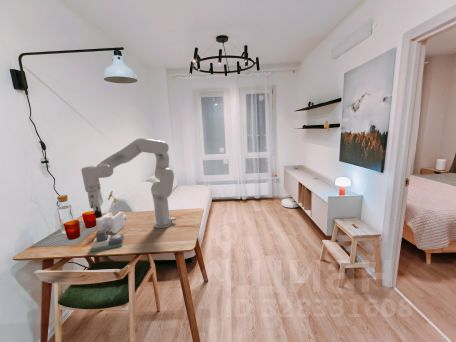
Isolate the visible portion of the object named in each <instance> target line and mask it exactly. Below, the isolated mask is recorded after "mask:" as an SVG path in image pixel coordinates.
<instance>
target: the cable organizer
mask: <svg viewBox="0 0 456 342" xmlns="http://www.w3.org/2000/svg"><path fill="white" fill-rule="evenodd" d="M123 214H124V212H123V211H119V213H118V214H116V215H115V216H113V213H112V212H107V213H105V214H104V215H102V217H101V218H98V219H97V221H96V222H97V229H98V231H99V230H104V229H106V233H107V232H108V233H109V230H110V231H111V232H112V234H117V233H119V231H120V230H122V229H123V228H124V227H125V225H126V223H125V222H126V221H125V219H124V215H123Z"/></svg>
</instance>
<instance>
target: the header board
mask: <svg viewBox="0 0 456 342" xmlns="http://www.w3.org/2000/svg"><path fill="white" fill-rule="evenodd" d="M107 238H108V239H107V241H101V242H97V239H96V237H95V238H94V240H93V242H92V248H91V250H90V252H91V253H95V251H96V252H100V251H99V250H101V251H105V250H104V249H106V250H110V248H111V249H116V248H120V247H123V244H124V243H123V242H124V240H125V235H124V233H119V234H114V235H111V234H110V235H109V234H107Z"/></svg>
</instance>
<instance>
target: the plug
mask: <svg viewBox="0 0 456 342" xmlns="http://www.w3.org/2000/svg"><path fill="white" fill-rule="evenodd" d="M107 236H108V234H107V232H106V229H104V230H99V229H98V230H97V231H96V233H95V238H96V239H97V242H101V241H107V239H108V238H107Z"/></svg>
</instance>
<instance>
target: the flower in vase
mask: <svg viewBox="0 0 456 342" xmlns="http://www.w3.org/2000/svg"><path fill="white" fill-rule="evenodd" d="M113 192H114V191H113V190H110V193H109V195H108V198H107V201H110V199H112V198H113V203H112V205H113V207H114V209H115V212H114V214H112V216H115V215H116V214H118V213H119V212H120V210H119V209H120V208H119V205H120V202H119V201H118V199H117V198H116V197H114V195H113ZM123 215H124V220H126V218H127V215H126V214H125V213H123Z"/></svg>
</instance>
